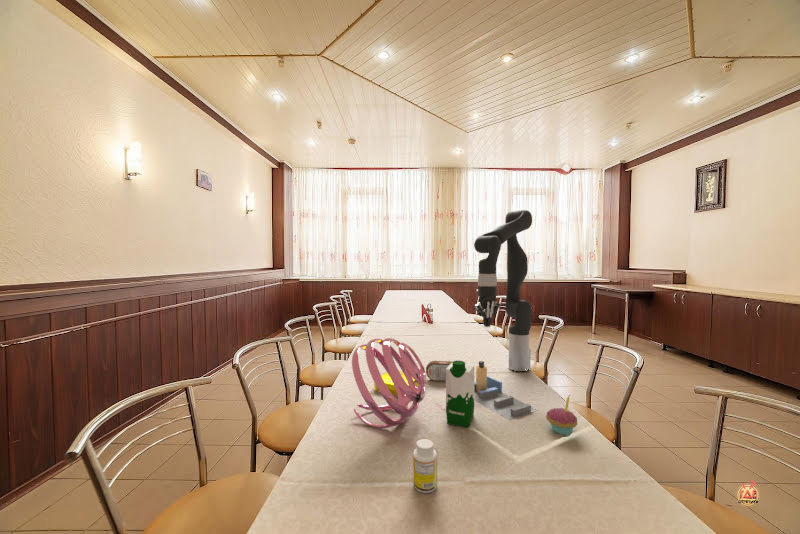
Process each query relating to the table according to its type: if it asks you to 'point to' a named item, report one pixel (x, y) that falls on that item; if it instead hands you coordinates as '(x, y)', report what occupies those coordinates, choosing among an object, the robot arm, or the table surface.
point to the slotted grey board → (501, 400)
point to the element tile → (390, 384)
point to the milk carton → (459, 393)
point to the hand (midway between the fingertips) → (487, 326)
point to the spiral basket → (403, 389)
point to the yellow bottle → (481, 377)
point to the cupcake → (562, 419)
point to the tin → (437, 370)
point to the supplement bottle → (425, 466)
